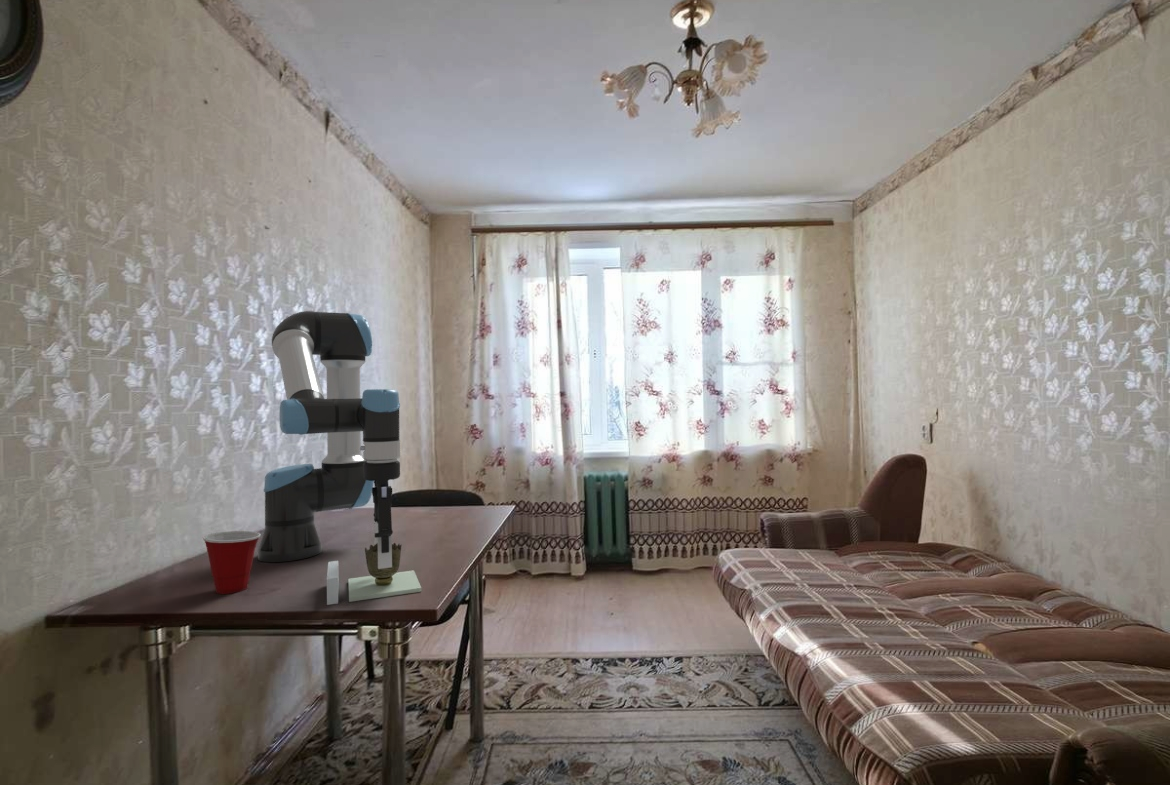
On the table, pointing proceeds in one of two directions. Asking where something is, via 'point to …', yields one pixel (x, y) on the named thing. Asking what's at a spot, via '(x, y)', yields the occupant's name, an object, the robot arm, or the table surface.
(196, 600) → the table surface
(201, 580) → the table surface
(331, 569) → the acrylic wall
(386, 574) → the cup
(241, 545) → the plastic cup
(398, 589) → the green pad
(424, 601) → the table surface
